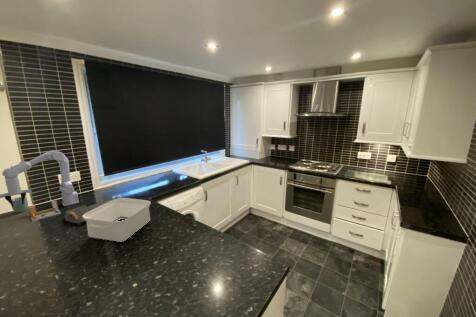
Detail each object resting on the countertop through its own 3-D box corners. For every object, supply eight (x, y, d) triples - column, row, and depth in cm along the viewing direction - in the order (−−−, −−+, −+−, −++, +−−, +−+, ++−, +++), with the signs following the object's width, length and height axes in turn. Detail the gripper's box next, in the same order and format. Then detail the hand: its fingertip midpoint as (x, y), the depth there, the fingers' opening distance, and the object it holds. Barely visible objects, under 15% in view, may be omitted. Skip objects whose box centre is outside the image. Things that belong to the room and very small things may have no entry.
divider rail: (57, 207, 148) (56, 200, 146) (60, 212, 141) (58, 204, 140) (30, 214, 137) (28, 206, 136) (31, 219, 130) (29, 211, 129)
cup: (20, 213, 138) (17, 201, 136) (10, 213, 138) (6, 200, 136) (32, 209, 146) (29, 196, 144) (22, 208, 146) (19, 196, 144)
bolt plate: (59, 210, 144) (58, 209, 144) (60, 213, 139) (60, 212, 139) (31, 217, 133) (30, 216, 133) (31, 221, 128) (31, 220, 128)
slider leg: (35, 213, 139) (34, 205, 138) (37, 218, 132) (35, 209, 131) (31, 214, 137) (29, 206, 136) (32, 219, 130) (30, 211, 129)
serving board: (74, 229, 120) (72, 220, 119) (60, 219, 132) (58, 210, 131) (133, 206, 153) (133, 198, 152) (118, 199, 165) (117, 193, 163)
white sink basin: (119, 251, 100) (116, 226, 97) (75, 243, 106) (71, 219, 103) (158, 219, 133) (157, 199, 130) (123, 214, 138) (121, 195, 135)
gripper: (29, 182, 135) (32, 200, 138) (-4, 187, 125) (1, 206, 127) (29, 184, 131) (33, 202, 134) (-5, 190, 120) (1, 210, 123)
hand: (18, 204), depth 130 cm, fingers open, 4 cm apart
